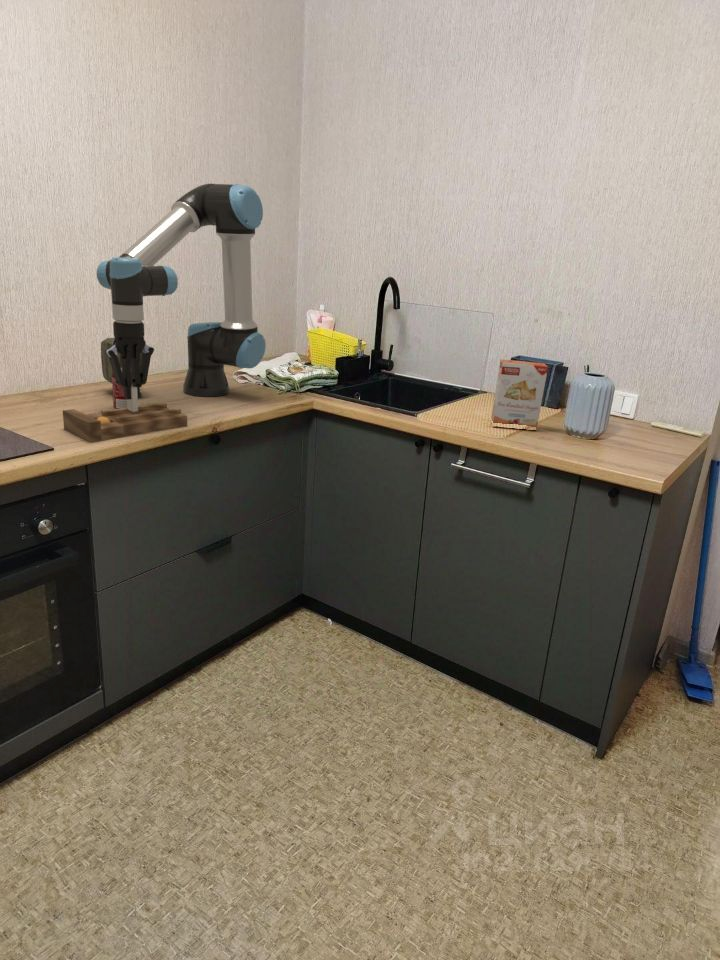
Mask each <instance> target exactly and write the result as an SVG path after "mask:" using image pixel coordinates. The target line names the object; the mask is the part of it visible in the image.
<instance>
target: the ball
mask: <svg viewBox="0 0 720 960" xmlns="http://www.w3.org/2000/svg"><path fill="white" fill-rule="evenodd" d="M97 420H99V421H101V424H105V423H111V422H110V420H109V419H108V418H106V417H99V418H97Z"/></svg>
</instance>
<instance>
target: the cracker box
mask: <svg viewBox="0 0 720 960" xmlns="http://www.w3.org/2000/svg"><path fill="white" fill-rule="evenodd" d="M548 371H549V366H548V365H547V364H546V363H544V362H532V361H524V360H512V359H500V360H499V367H498V373H497V380H496V386H495V393H494V399H493V406H492V412H491V416H490V417H491V419H492V421H493V423H502V424H518V425H527V426H531V427H537V428H538V423H539V419H540V413H541V407H542V402H543V398H544V391H545V387H546V386H545V385H546V381H547V375H548ZM491 419H490V420H491Z"/></svg>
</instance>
